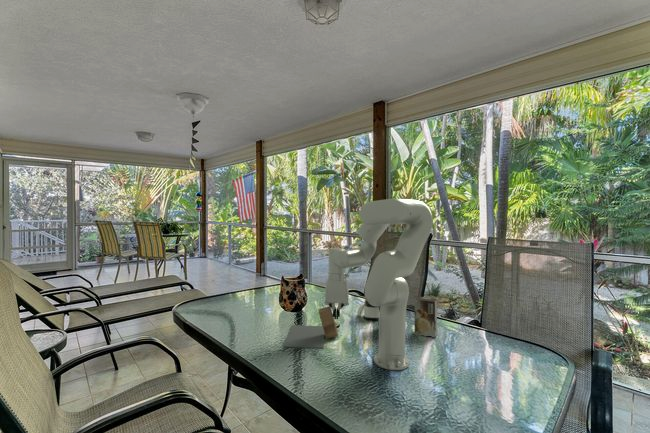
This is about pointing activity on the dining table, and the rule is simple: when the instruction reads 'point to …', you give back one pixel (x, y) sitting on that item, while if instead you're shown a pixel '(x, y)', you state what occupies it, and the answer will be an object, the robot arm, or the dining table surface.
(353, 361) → the dining table surface
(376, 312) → the spread jar
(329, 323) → the block
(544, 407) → the dining table surface
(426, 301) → the coffee box
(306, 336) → the mat
